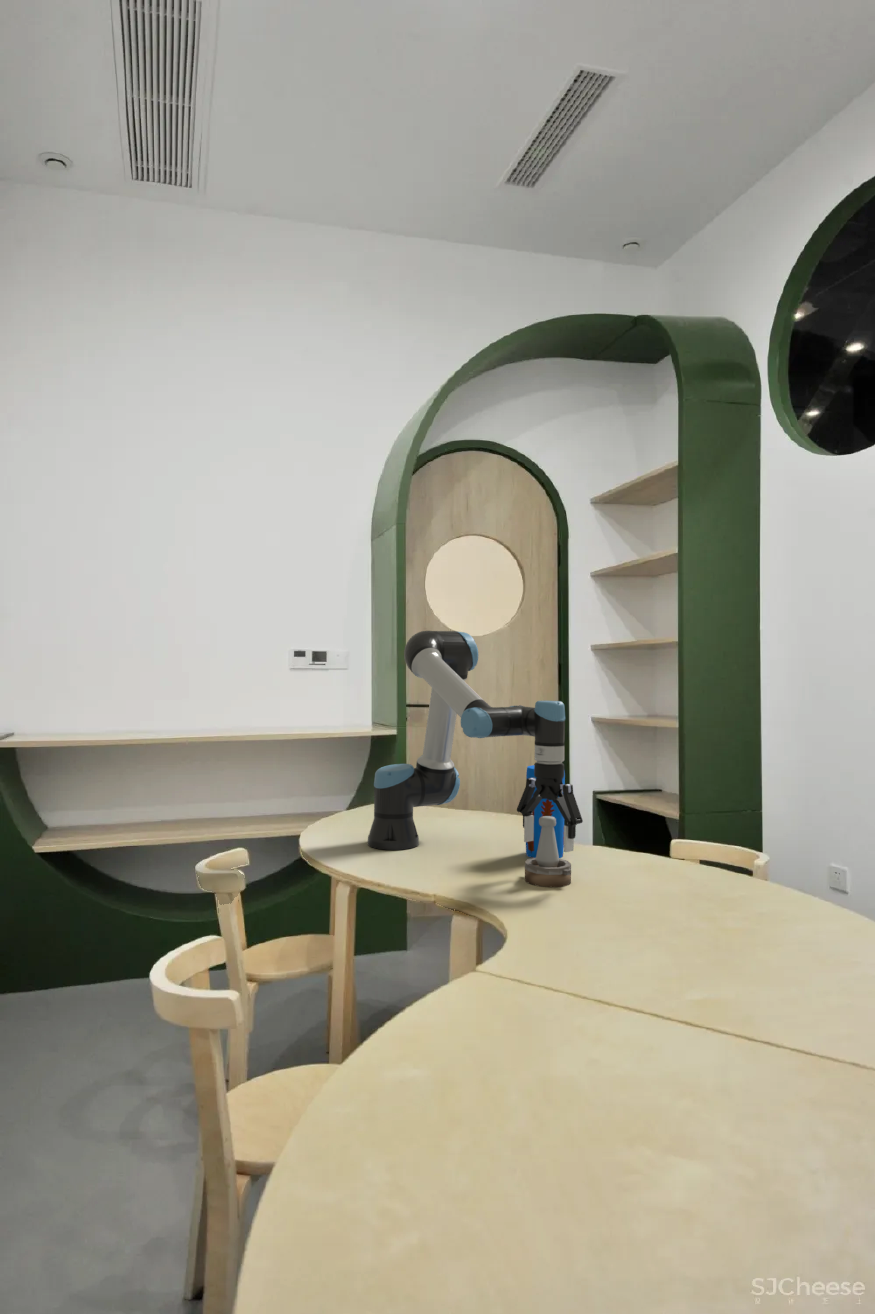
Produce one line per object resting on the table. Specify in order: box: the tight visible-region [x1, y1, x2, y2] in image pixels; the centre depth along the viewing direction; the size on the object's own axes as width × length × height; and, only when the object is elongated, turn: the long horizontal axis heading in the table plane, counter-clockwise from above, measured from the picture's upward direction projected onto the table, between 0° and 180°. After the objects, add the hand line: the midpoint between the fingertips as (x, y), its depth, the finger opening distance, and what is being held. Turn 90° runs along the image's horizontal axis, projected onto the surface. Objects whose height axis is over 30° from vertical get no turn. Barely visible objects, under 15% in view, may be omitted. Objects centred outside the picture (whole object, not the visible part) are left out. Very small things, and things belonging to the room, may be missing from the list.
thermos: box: [525, 765, 566, 859], centre depth 234 cm, size 11×11×25 cm
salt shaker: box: [536, 816, 560, 868], centre depth 208 cm, size 6×6×13 cm
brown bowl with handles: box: [524, 858, 572, 888], centre depth 208 cm, size 14×12×4 cm
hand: (548, 846), depth 208 cm, fingers open, 13 cm apart
